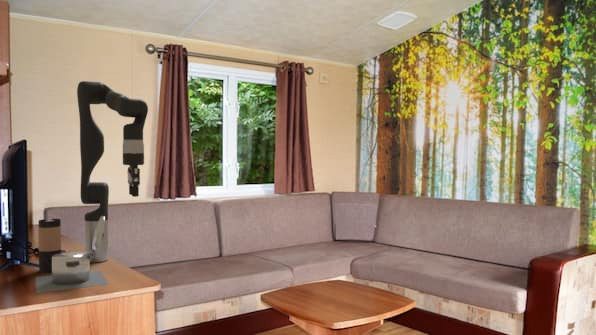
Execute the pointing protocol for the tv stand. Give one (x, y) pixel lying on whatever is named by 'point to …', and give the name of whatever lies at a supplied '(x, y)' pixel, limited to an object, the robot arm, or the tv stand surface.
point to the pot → (71, 268)
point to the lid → (98, 235)
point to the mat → (46, 285)
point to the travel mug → (48, 243)
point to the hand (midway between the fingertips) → (133, 195)
